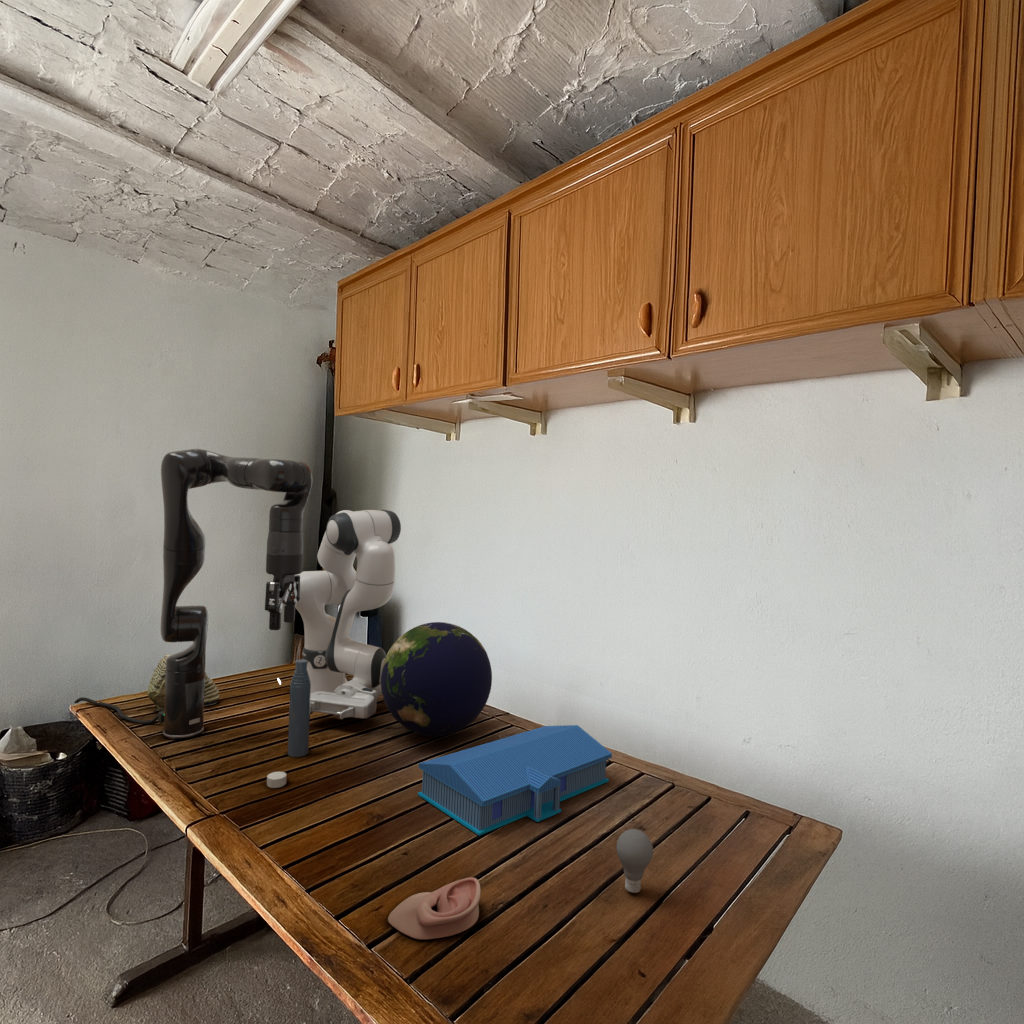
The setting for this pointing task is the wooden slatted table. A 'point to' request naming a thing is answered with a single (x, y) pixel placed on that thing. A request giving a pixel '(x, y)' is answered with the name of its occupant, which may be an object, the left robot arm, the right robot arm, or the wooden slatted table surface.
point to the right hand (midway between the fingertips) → (322, 713)
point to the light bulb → (634, 857)
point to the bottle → (299, 711)
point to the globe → (436, 679)
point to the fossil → (158, 687)
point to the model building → (514, 777)
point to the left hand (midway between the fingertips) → (282, 625)
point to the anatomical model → (439, 911)
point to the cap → (276, 779)
